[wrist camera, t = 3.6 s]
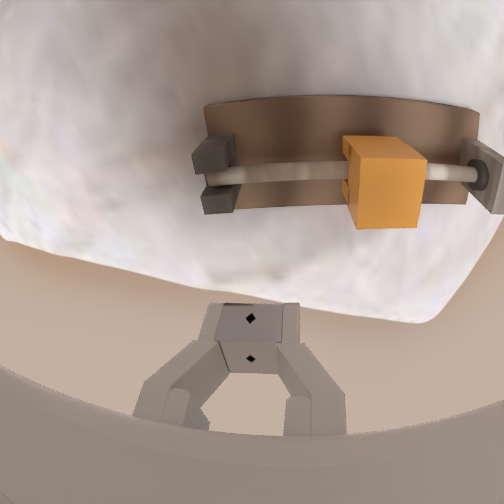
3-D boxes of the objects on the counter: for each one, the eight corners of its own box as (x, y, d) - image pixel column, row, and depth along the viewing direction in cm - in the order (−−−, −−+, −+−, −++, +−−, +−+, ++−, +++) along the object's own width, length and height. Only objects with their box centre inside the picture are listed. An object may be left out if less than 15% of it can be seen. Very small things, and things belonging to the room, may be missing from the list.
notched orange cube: (342, 192, 20) (356, 229, 16) (342, 134, 17) (360, 157, 14) (392, 191, 20) (416, 227, 16) (396, 135, 17) (427, 160, 13)
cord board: (225, 202, 26) (207, 252, 20) (208, 104, 21) (177, 124, 15) (458, 197, 23) (497, 241, 17) (470, 109, 17) (523, 134, 11)
